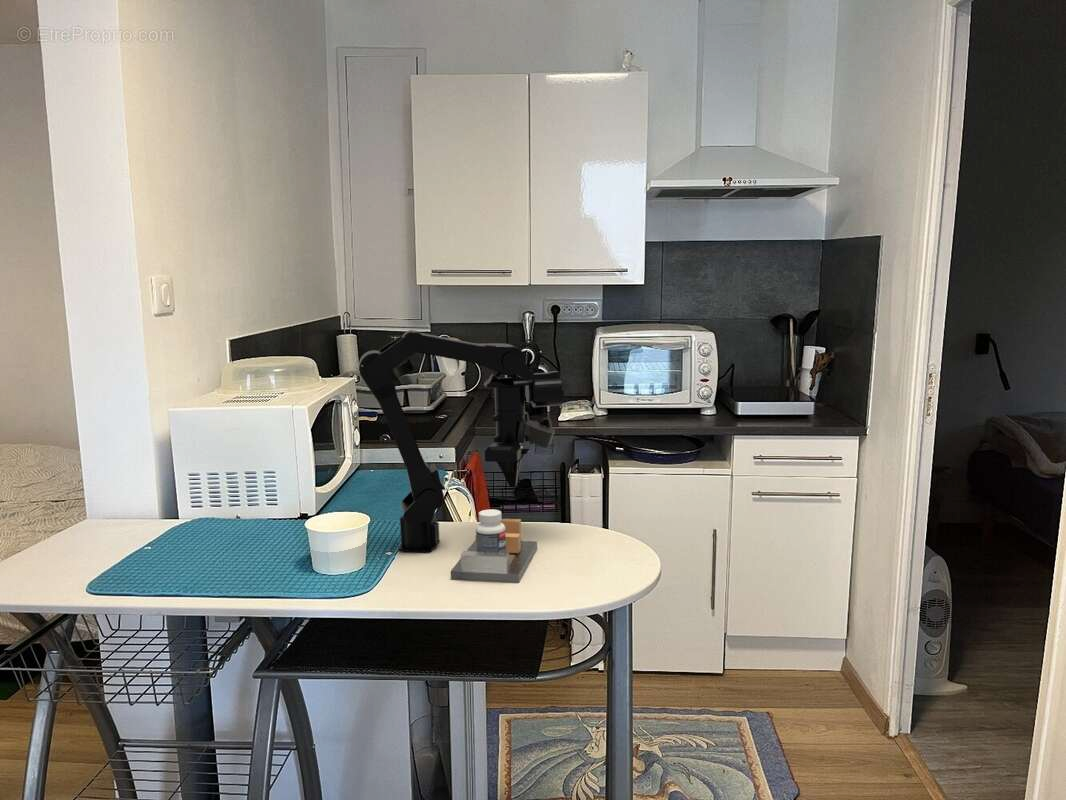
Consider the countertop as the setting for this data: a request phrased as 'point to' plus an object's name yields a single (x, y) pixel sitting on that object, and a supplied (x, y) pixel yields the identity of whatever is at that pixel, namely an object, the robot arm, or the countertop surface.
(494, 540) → the pill bottle
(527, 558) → the silver frame
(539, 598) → the countertop surface
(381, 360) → the robot arm
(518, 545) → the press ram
